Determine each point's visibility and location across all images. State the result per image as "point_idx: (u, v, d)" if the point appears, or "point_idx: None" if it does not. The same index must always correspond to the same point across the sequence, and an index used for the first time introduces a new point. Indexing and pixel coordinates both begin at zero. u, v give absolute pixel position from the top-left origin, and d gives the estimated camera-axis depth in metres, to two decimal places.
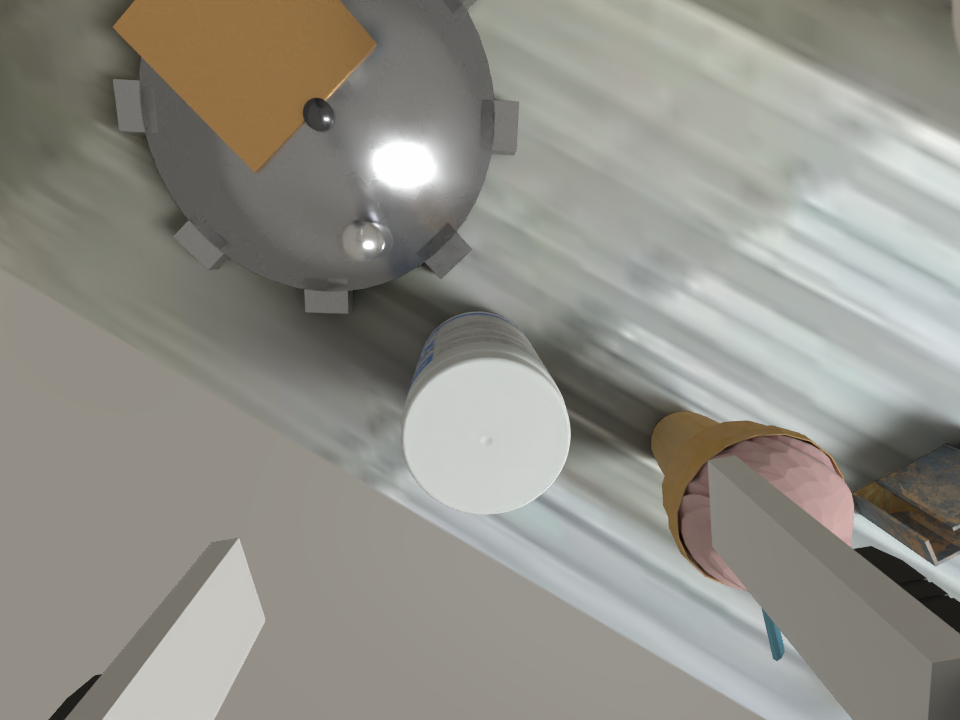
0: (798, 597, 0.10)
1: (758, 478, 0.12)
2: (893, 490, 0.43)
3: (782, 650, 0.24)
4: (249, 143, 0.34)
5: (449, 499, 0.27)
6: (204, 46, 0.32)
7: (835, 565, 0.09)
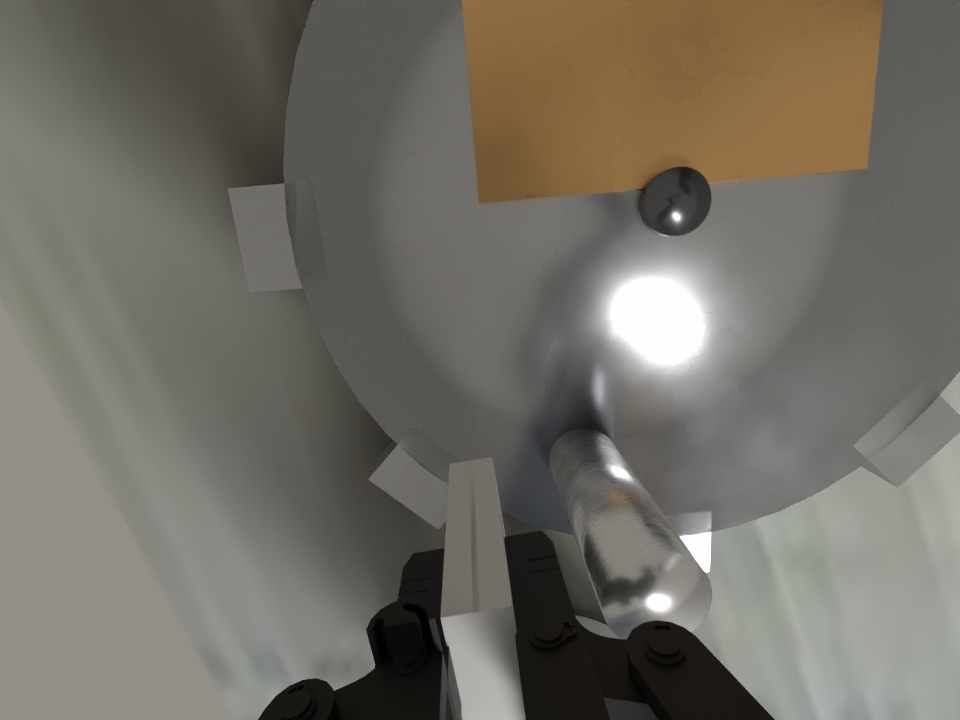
0: None
1: (490, 476, 0.14)
2: None
3: None
4: (514, 147, 0.15)
5: None
6: None
7: (479, 544, 0.11)
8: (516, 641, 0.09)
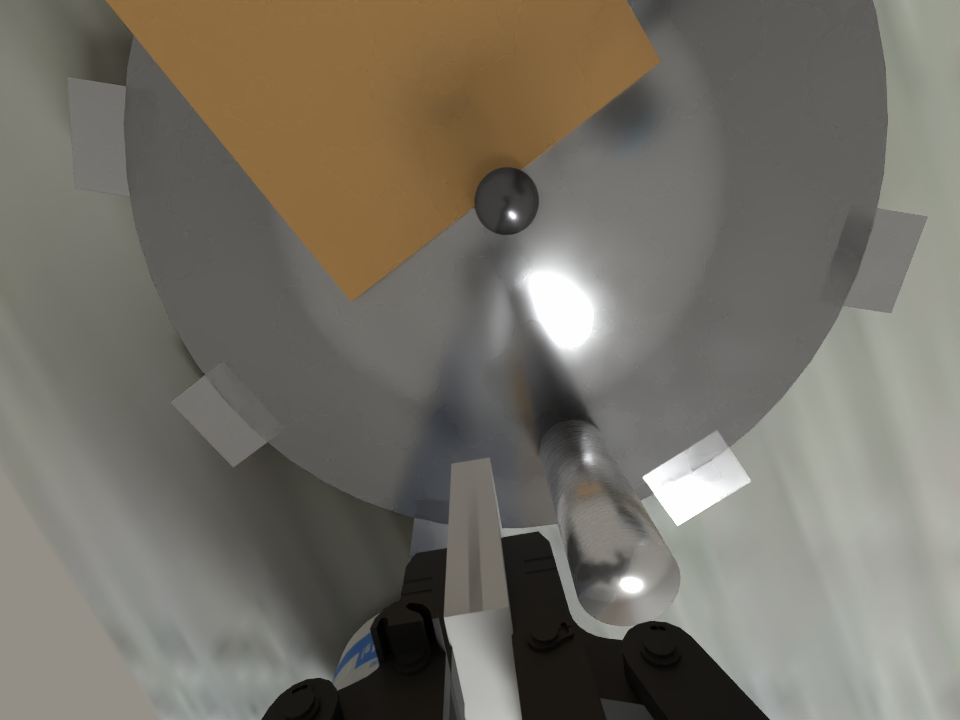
0: None
1: (488, 476, 0.14)
2: None
3: None
4: (349, 242, 0.16)
5: None
6: (277, 27, 0.14)
7: (476, 545, 0.11)
8: (513, 642, 0.09)
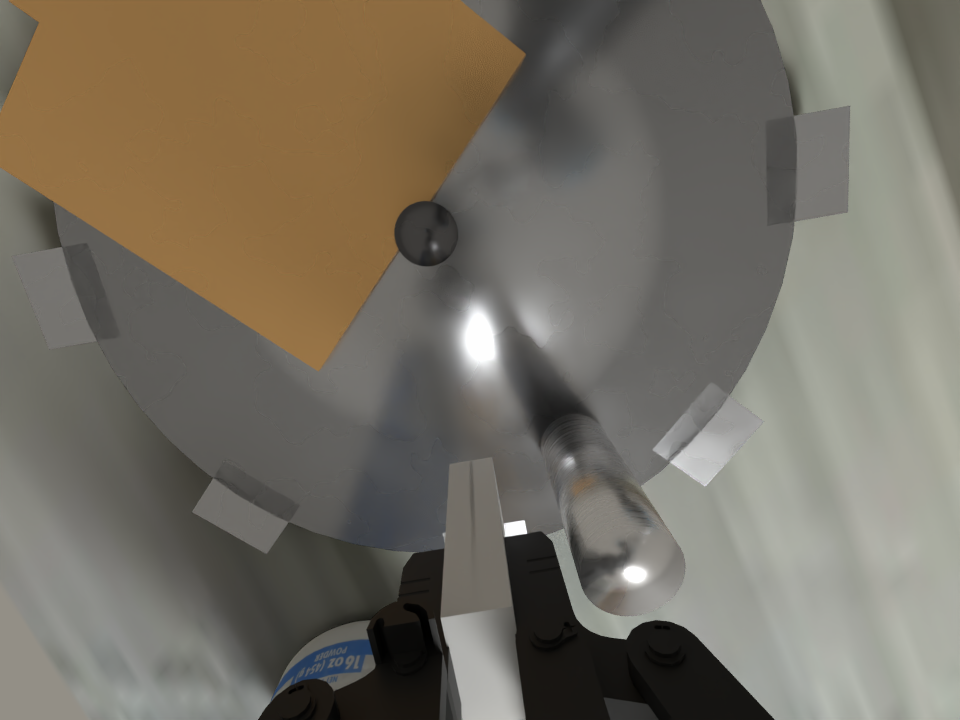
0: None
1: (490, 476, 0.14)
2: None
3: None
4: (297, 318, 0.16)
5: None
6: (170, 149, 0.15)
7: (479, 544, 0.11)
8: (516, 641, 0.09)
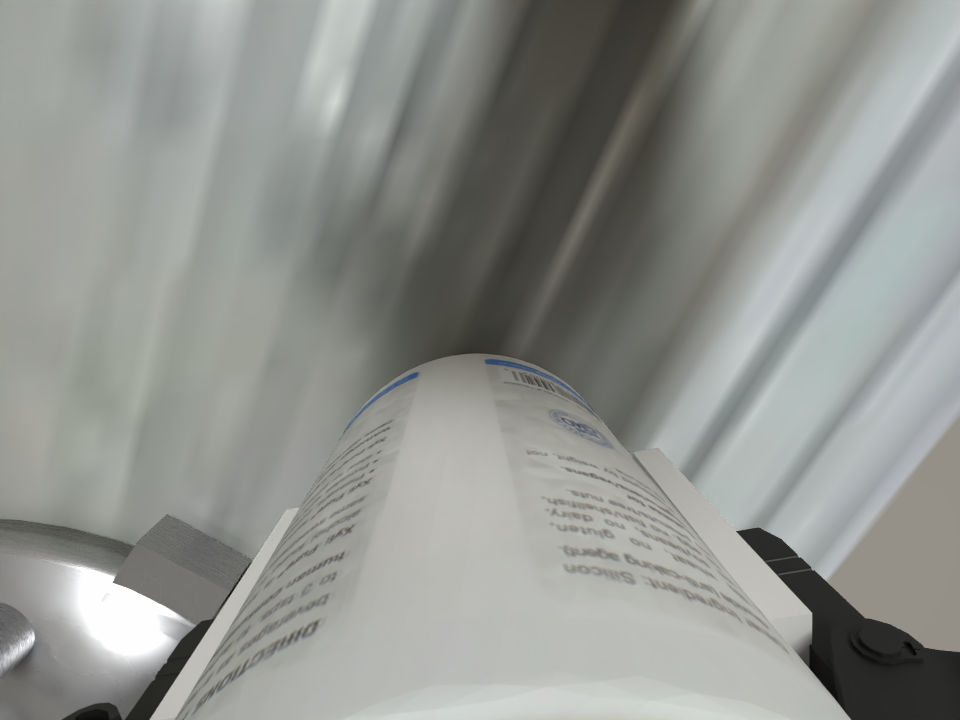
0: None
1: (672, 468, 0.13)
2: None
3: None
4: None
5: None
6: None
7: (714, 542, 0.10)
8: (831, 639, 0.08)
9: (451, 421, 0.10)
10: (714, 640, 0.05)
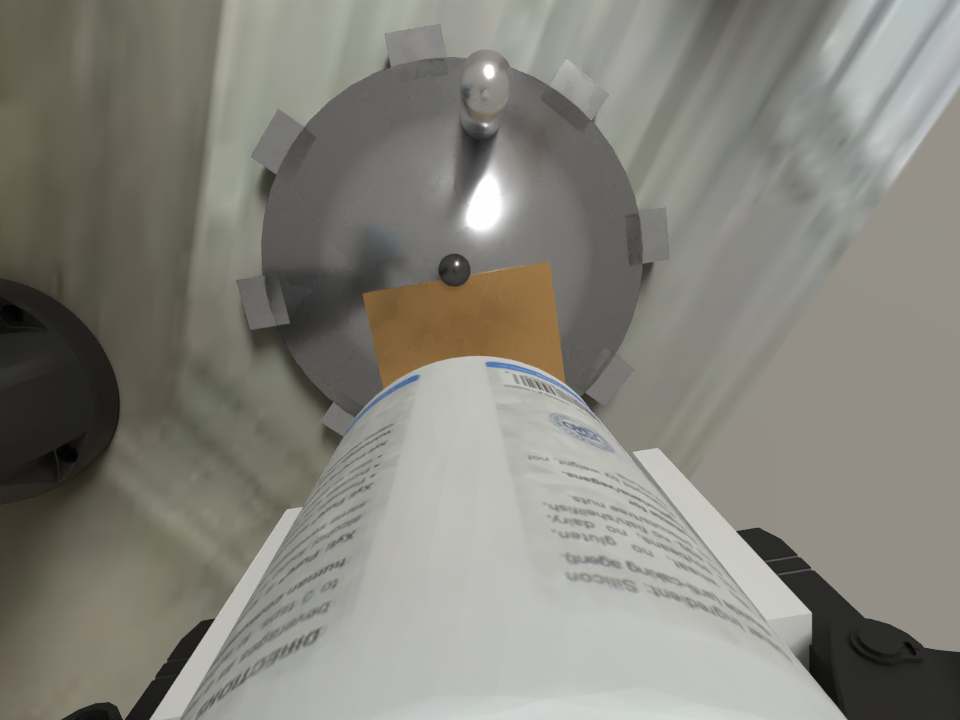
0: None
1: (672, 468, 0.13)
2: None
3: None
4: (534, 288, 0.31)
5: None
6: None
7: (714, 542, 0.10)
8: (831, 639, 0.08)
9: (452, 426, 0.10)
10: (717, 650, 0.05)
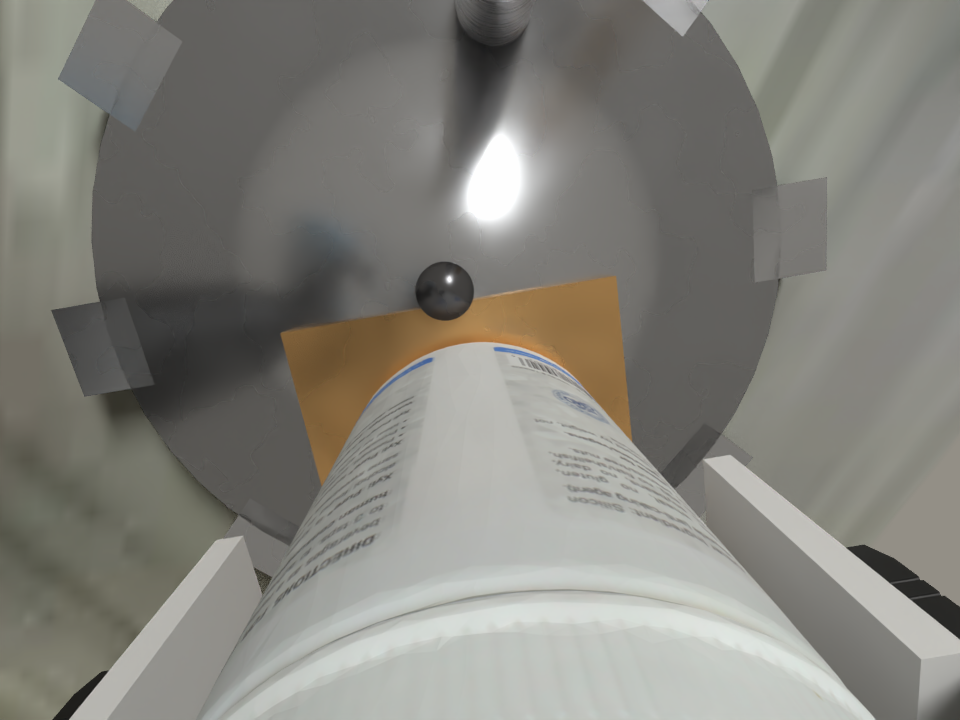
0: (792, 595, 0.10)
1: (753, 477, 0.12)
2: None
3: None
4: (587, 323, 0.18)
5: None
6: None
7: (828, 563, 0.09)
8: None
9: (468, 396, 0.11)
10: (684, 551, 0.06)
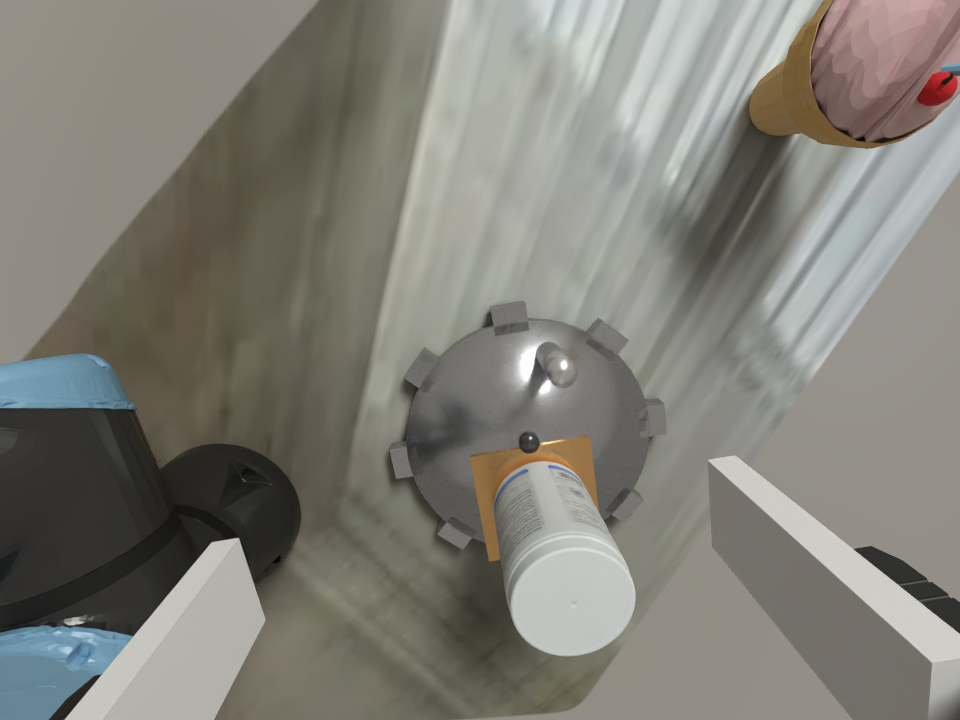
0: (798, 597, 0.10)
1: (758, 478, 0.12)
2: None
3: None
4: (579, 453, 0.48)
5: (622, 622, 0.36)
6: None
7: (835, 565, 0.09)
8: None
9: (547, 491, 0.42)
10: (593, 529, 0.37)
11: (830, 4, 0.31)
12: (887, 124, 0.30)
